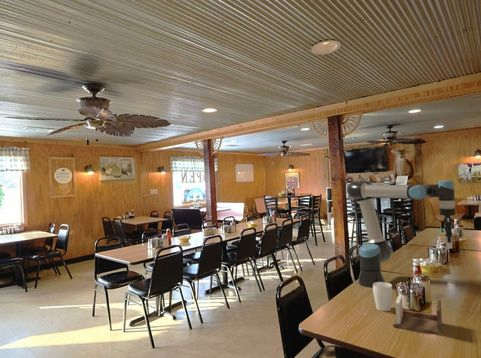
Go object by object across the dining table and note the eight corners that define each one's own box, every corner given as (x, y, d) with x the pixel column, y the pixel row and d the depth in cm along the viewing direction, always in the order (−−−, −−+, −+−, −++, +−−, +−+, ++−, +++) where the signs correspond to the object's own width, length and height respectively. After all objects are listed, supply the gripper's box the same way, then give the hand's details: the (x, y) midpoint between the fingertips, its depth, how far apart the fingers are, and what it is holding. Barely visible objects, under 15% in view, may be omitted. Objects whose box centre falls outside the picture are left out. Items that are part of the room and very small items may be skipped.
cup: (377, 304, 169) (375, 280, 169) (395, 307, 163) (394, 283, 164) (371, 309, 162) (370, 285, 162) (390, 313, 156) (389, 288, 157)
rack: (393, 326, 143) (391, 303, 143) (397, 315, 154) (396, 294, 154) (441, 335, 133) (440, 310, 133) (442, 323, 144) (440, 299, 144)
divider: (396, 323, 143) (395, 302, 143) (399, 314, 151) (398, 295, 152) (400, 324, 142) (399, 303, 142) (403, 315, 151) (402, 295, 151)
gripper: (456, 210, 170) (458, 251, 170) (453, 206, 191) (455, 242, 191) (439, 210, 174) (441, 250, 174) (439, 205, 195) (440, 241, 195)
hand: (448, 245), depth 182 cm, fingers open, 13 cm apart
